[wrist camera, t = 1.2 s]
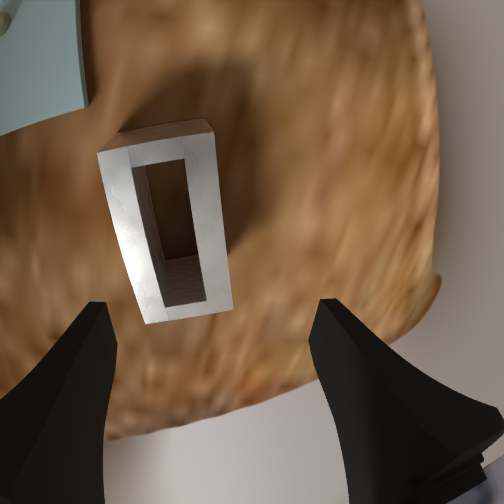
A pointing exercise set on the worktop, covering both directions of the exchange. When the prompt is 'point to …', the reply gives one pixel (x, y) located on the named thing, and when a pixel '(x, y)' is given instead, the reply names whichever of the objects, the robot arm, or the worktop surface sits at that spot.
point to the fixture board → (40, 62)
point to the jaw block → (145, 226)
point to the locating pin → (4, 23)
